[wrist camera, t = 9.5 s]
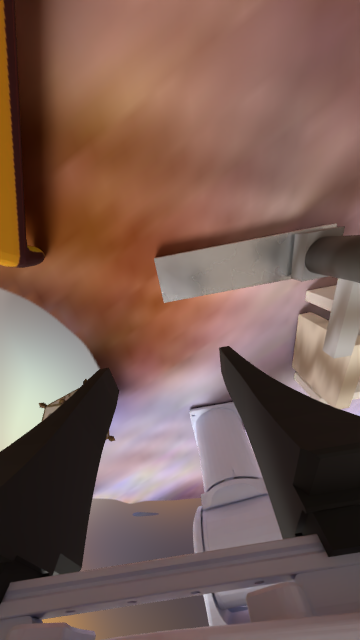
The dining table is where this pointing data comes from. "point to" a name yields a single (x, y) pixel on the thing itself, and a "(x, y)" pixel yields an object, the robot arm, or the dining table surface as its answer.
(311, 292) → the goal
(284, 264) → the rail
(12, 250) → the decorative lantern
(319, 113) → the dining table surface
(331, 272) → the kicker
